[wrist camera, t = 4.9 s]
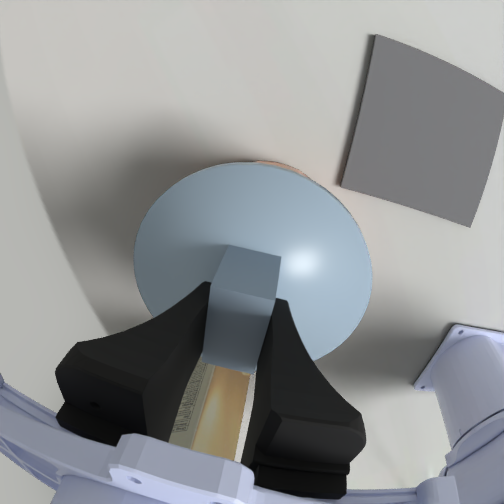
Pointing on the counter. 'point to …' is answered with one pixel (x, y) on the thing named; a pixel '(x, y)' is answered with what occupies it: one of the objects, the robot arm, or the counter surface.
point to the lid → (255, 258)
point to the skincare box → (211, 411)
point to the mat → (423, 133)
